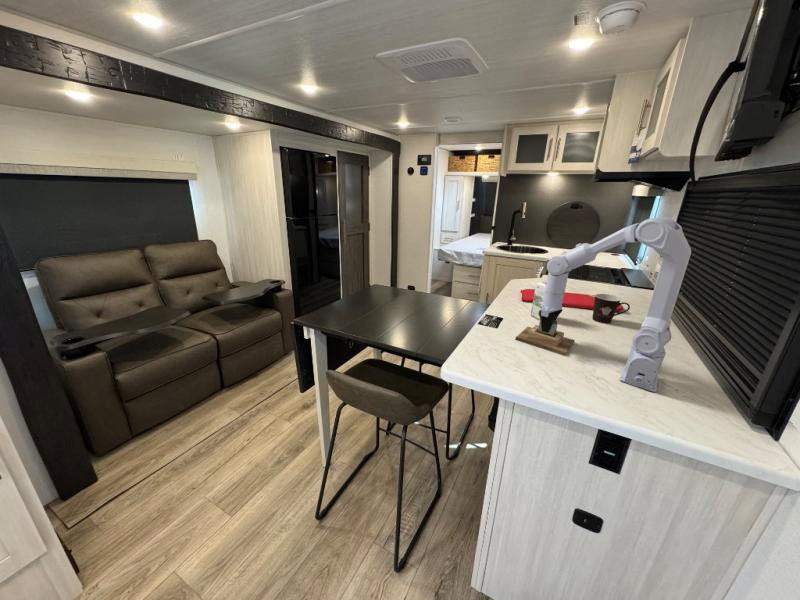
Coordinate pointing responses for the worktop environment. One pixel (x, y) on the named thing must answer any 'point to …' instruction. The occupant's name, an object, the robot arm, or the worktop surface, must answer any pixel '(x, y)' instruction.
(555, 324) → the brushed grey block
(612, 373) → the worktop surface
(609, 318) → the coffee mug
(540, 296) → the syrup box
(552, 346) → the slot block
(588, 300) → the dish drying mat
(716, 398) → the worktop surface
